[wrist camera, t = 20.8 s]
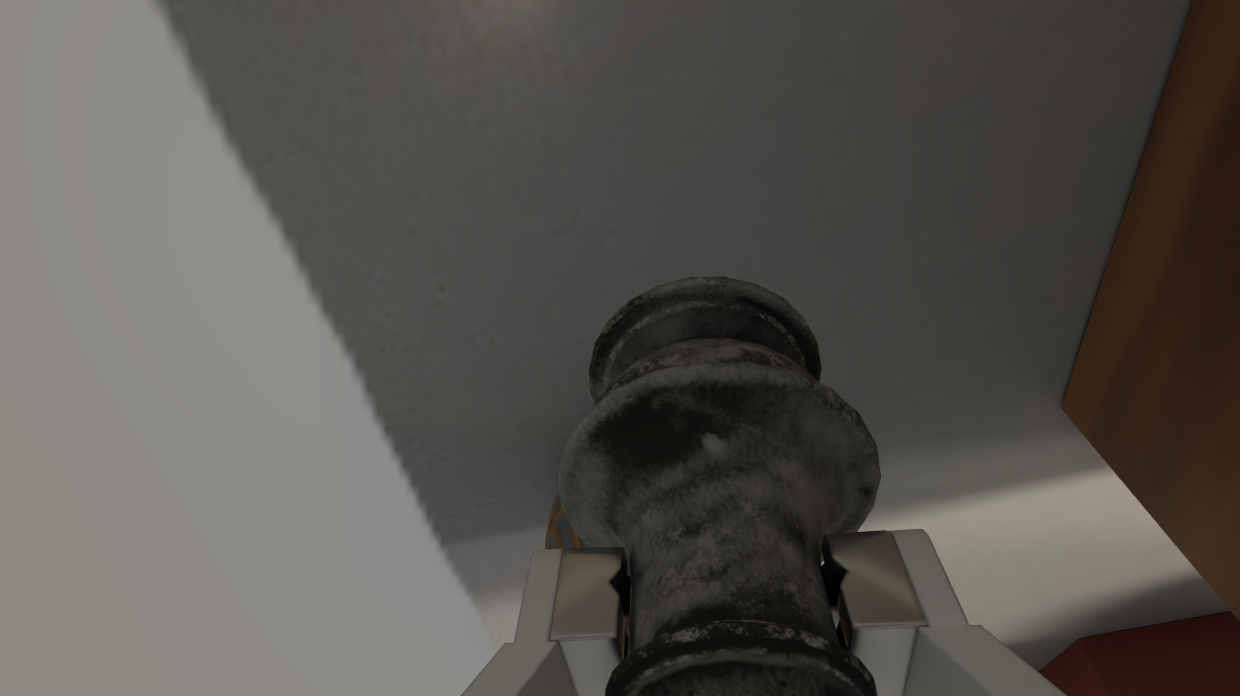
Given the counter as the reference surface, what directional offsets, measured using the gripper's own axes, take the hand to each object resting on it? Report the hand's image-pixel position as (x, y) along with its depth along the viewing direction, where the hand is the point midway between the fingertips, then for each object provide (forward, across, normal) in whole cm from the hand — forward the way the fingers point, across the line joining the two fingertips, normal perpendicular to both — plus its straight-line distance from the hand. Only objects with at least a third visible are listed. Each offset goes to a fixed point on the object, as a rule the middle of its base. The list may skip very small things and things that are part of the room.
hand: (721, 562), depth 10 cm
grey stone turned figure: (+5, 0, 0) cm, 5 cm away
